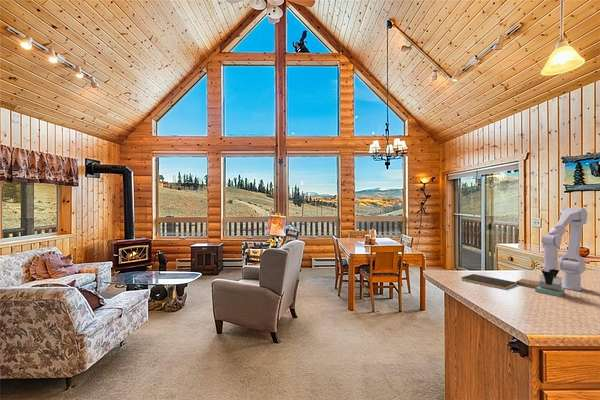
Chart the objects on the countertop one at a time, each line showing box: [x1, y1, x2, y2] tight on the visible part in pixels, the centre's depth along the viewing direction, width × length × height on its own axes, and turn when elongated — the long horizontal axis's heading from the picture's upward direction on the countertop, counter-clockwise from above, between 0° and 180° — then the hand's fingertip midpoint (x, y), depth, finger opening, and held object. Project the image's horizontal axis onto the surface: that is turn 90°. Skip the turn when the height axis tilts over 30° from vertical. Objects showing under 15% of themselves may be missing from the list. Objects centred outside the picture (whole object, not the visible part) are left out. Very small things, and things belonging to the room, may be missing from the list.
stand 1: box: [515, 278, 540, 289], centre depth 179 cm, size 10×10×2 cm
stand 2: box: [534, 286, 566, 297], centre depth 165 cm, size 10×10×2 cm
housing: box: [539, 273, 563, 290], centre depth 165 cm, size 8×4×6 cm, turn 39°
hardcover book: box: [460, 273, 517, 290], centre depth 183 cm, size 16×23×2 cm
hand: (550, 283), depth 165 cm, fingers closed on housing, 4 cm apart
